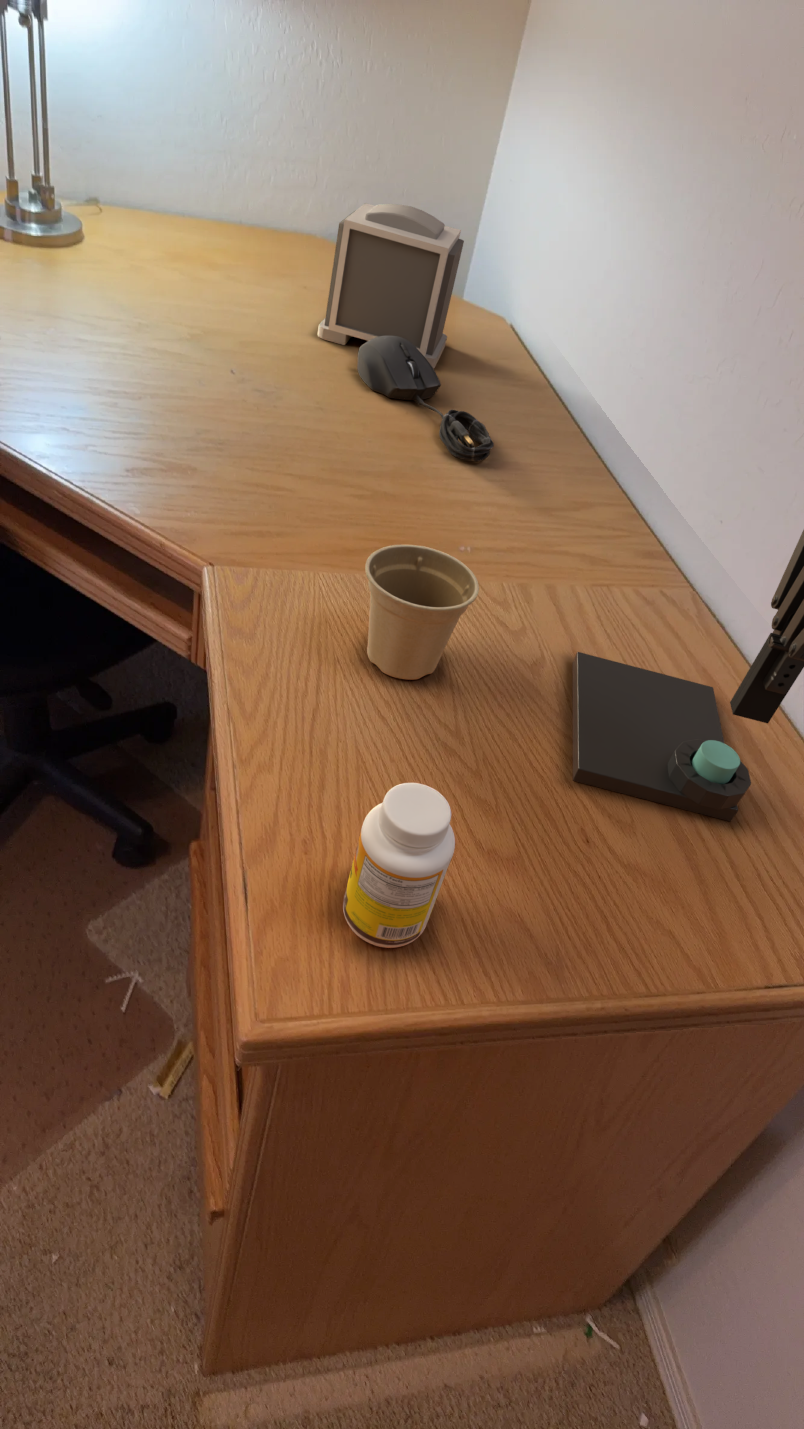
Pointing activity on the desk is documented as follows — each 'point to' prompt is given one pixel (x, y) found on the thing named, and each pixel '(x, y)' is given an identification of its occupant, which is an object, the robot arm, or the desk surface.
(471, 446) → the computer mouse
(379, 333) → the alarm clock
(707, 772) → the button
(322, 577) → the desk surface
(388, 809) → the supplement bottle
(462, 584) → the flower pot
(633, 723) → the scale
